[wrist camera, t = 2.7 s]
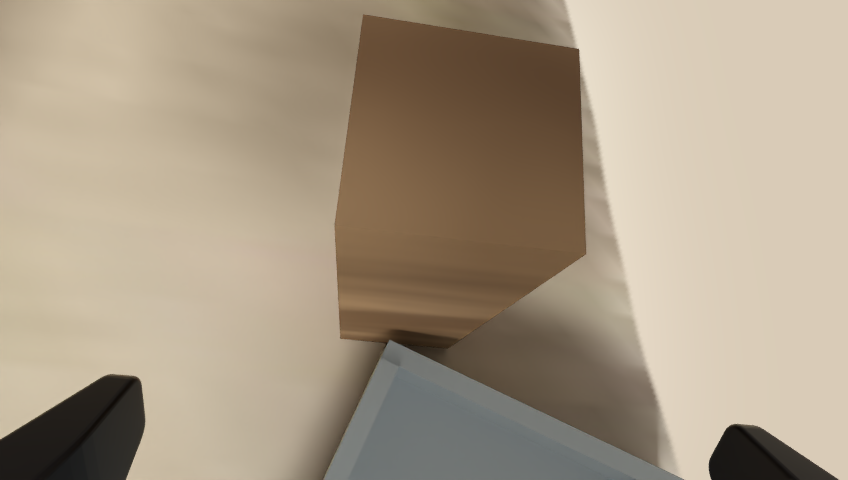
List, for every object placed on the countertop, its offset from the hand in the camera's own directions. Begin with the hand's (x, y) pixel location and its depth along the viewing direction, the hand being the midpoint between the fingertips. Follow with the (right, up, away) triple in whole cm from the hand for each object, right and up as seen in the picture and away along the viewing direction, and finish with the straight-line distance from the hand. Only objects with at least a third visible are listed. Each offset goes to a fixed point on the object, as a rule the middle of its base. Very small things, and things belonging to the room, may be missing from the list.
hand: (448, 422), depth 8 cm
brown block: (-1, +1, +12) cm, 12 cm away
